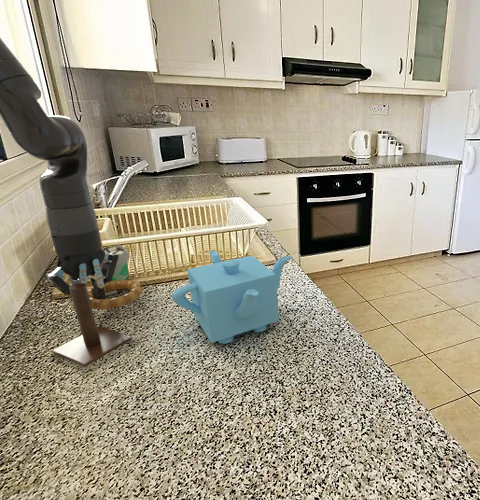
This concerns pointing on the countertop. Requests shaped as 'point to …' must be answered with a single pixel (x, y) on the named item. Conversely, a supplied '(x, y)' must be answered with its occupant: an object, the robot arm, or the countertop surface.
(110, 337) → the peg stand
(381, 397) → the countertop surface
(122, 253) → the food container
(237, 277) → the teakettle
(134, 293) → the ring
